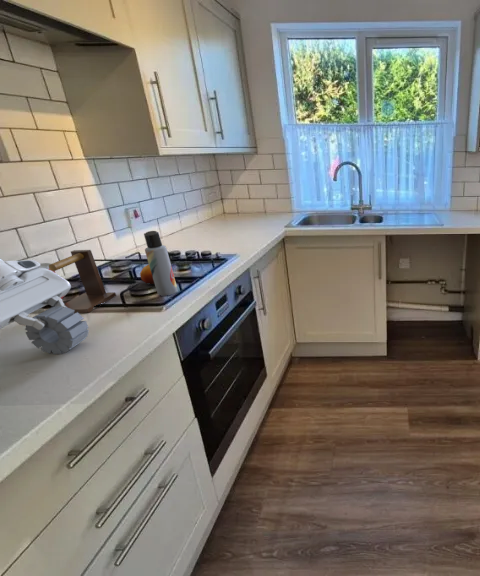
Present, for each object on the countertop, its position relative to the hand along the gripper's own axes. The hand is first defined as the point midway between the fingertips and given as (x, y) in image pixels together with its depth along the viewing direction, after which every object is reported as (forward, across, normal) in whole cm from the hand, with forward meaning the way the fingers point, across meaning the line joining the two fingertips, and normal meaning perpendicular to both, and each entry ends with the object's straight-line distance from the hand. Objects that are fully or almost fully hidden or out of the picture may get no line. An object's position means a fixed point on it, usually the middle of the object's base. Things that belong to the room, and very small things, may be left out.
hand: (56, 319), depth 83 cm
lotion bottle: (+10, +32, +1) cm, 34 cm away
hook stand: (-5, +25, +16) cm, 30 cm away
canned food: (-15, +29, +26) cm, 42 cm away
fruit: (+4, +42, +8) cm, 43 cm away
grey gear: (+5, 0, +6) cm, 8 cm away
